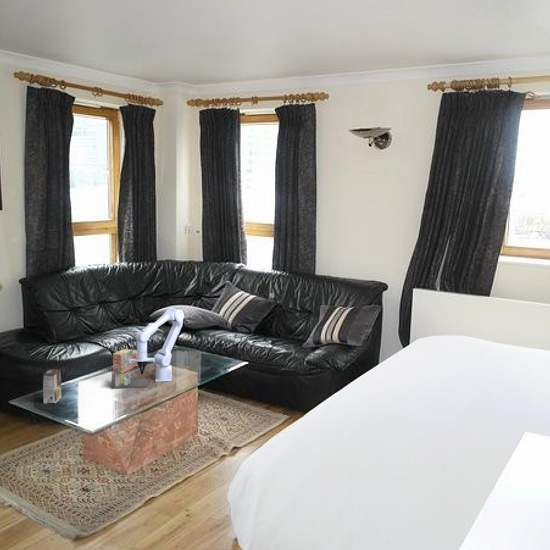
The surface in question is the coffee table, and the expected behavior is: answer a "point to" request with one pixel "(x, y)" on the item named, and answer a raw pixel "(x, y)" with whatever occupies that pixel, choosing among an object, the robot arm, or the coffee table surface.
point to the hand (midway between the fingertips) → (142, 373)
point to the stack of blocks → (124, 360)
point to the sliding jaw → (127, 379)
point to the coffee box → (52, 386)
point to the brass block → (121, 379)
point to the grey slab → (133, 384)
